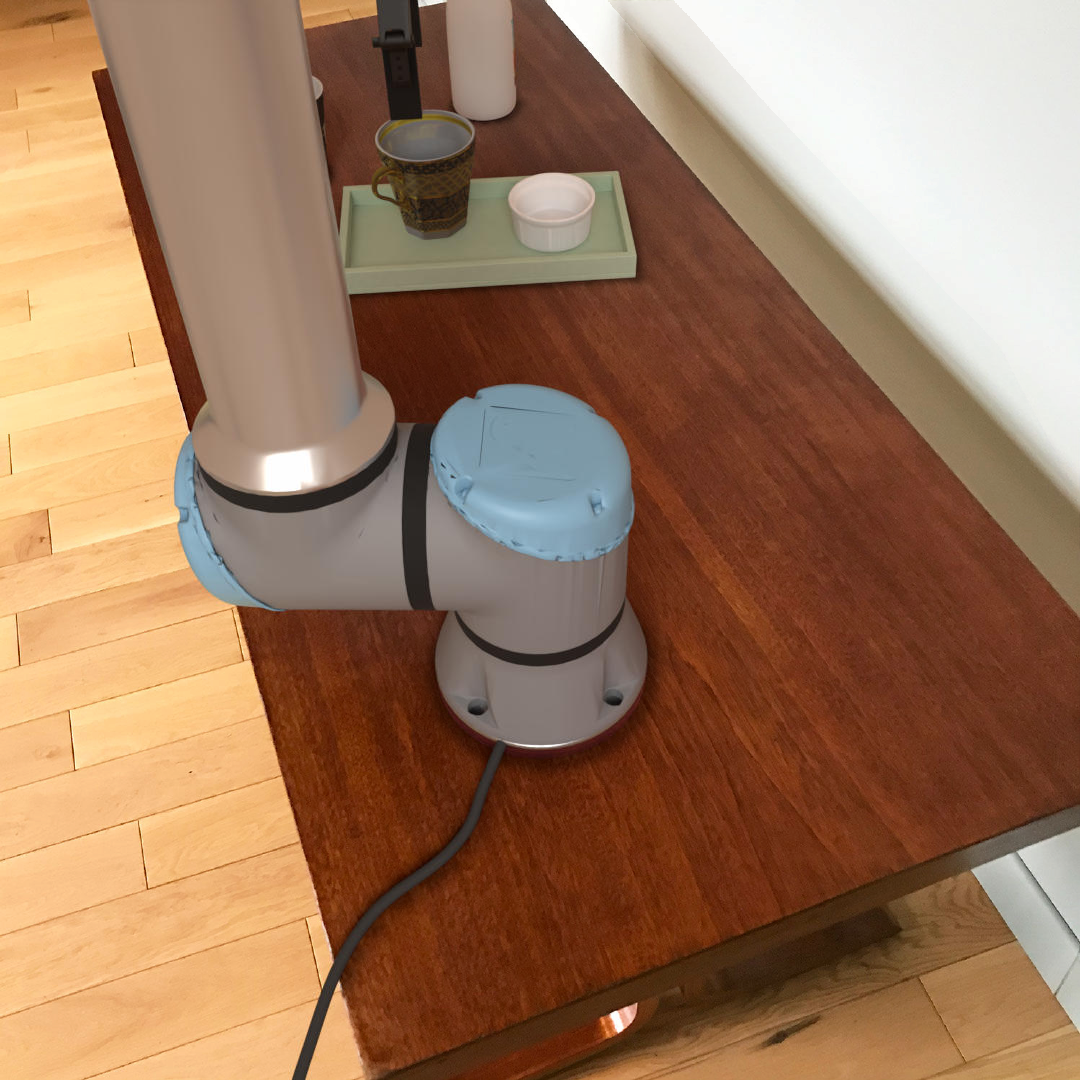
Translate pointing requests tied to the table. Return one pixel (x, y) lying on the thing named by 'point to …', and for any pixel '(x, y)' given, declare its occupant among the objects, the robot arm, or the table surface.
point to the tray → (478, 242)
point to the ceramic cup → (428, 171)
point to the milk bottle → (481, 57)
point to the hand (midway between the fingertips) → (407, 80)
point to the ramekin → (552, 211)
